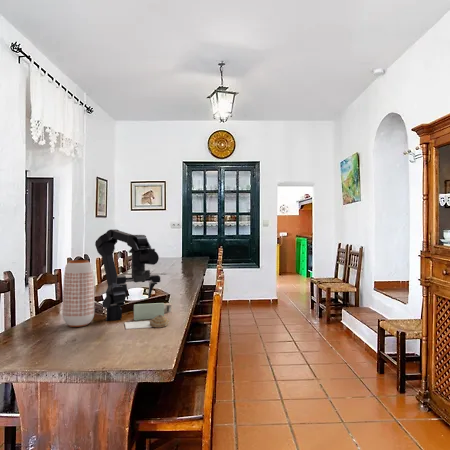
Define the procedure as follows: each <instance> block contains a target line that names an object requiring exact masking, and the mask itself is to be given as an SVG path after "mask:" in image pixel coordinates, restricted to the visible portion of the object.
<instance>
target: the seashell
mask: <svg viewBox="0 0 450 450" xmlns="http://www.w3.org/2000/svg"><path fill="white" fill-rule="evenodd" d="M169 322H170V319H168V318H167V317H166V316H165V315H164V316H162V315H158V316H156V317H155V318H154V319H150V325H151V326H152V327H151V328H163V327H166V326H168V324H169Z"/></svg>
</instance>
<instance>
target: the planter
mask: <svg viewBox="0 0 450 450" xmlns="http://www.w3.org/2000/svg"><path fill="white" fill-rule="evenodd" d="M63 276H64V277H63V289H62V311H61V314H62V319H63V321H64V323H65V324H66V325H67V326H68V327H71V328H79V327H81V328H82V327H86V326H88V325H89V324H90V323H91V322H92V321H93V319H94V317H95V286H94V285H95V284H94V281H95V280H94V271H93V264H92V263H91V262H90V261H89V260H88V259H75V260H74V259H73V260H69V261H68V262H67V263H66V265H65V267H64V275H63Z"/></svg>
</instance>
